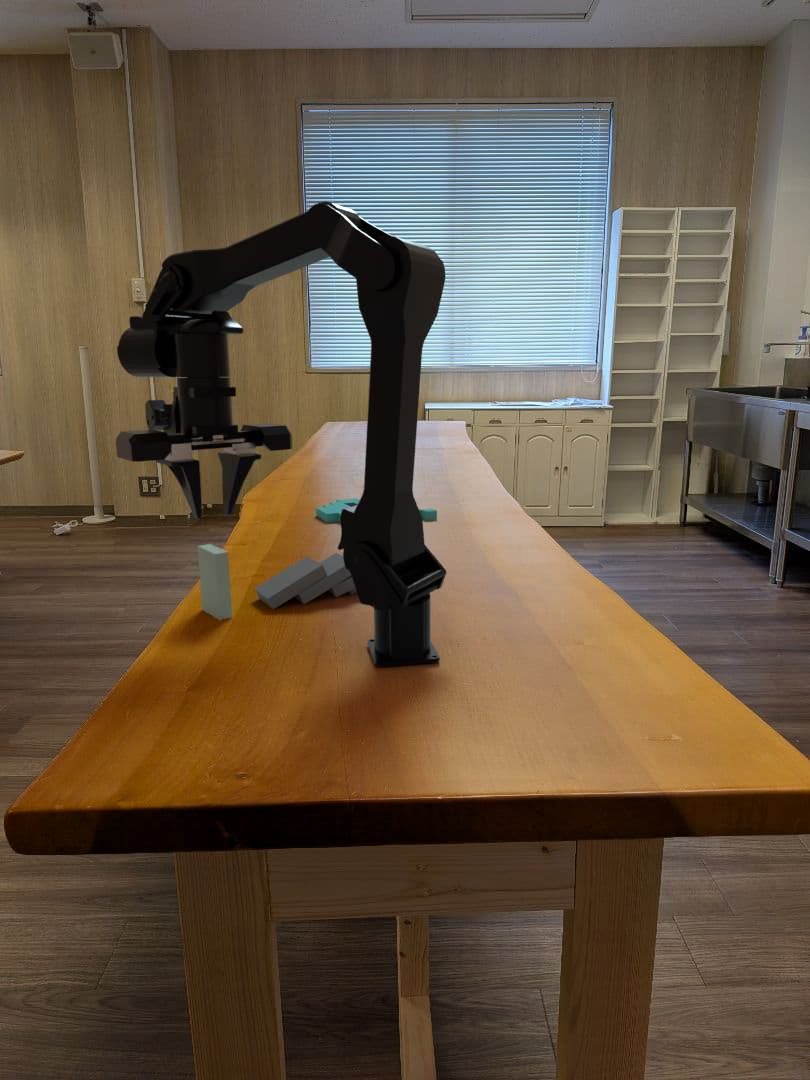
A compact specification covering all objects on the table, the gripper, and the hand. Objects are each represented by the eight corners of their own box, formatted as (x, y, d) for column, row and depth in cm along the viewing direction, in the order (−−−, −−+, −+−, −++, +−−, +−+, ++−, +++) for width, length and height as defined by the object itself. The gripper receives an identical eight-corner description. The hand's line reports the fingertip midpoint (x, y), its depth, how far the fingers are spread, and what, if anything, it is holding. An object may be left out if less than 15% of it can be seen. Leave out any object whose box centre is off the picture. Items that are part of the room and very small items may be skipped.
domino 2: (298, 594, 90) (352, 561, 92) (284, 583, 94) (336, 552, 97) (304, 604, 90) (357, 571, 93) (289, 593, 95) (340, 562, 97)
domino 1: (267, 598, 88) (322, 564, 91) (253, 588, 92) (306, 556, 95) (273, 609, 89) (327, 575, 91) (259, 598, 93) (311, 566, 96)
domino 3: (332, 586, 92) (387, 560, 94) (319, 575, 96) (372, 550, 99) (336, 597, 93) (390, 570, 95) (323, 585, 97) (375, 560, 99)
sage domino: (214, 607, 90) (210, 544, 88) (232, 617, 86) (228, 551, 84) (202, 609, 89) (197, 546, 87) (219, 620, 85) (214, 554, 83)
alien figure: (394, 505, 158) (306, 513, 150) (394, 494, 158) (305, 502, 150) (436, 521, 141) (339, 532, 132) (436, 510, 140) (338, 520, 132)
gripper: (248, 376, 92) (254, 498, 96) (94, 378, 81) (108, 515, 84) (291, 377, 83) (297, 510, 87) (126, 379, 72) (140, 532, 76)
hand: (212, 516), depth 84 cm, fingers open, 3 cm apart
